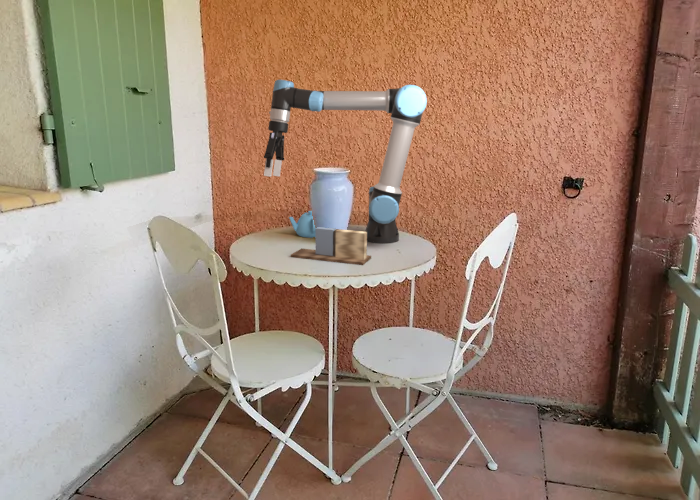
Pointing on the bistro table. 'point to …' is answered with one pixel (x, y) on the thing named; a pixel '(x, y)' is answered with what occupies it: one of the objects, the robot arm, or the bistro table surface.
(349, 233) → the l-shaped wooden stand
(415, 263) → the bistro table surface
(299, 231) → the blue round finned body
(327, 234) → the pale blue rectangular block
